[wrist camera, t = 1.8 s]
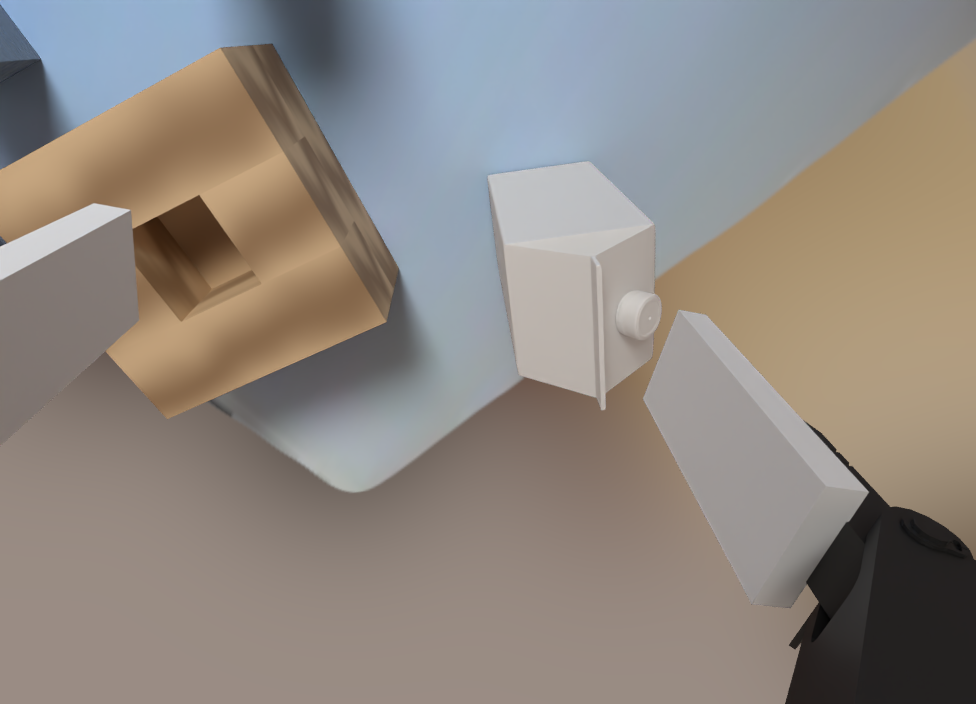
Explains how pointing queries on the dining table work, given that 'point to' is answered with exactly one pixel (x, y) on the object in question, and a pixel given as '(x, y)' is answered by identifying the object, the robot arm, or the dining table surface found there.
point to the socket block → (217, 225)
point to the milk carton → (574, 276)
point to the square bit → (13, 48)
